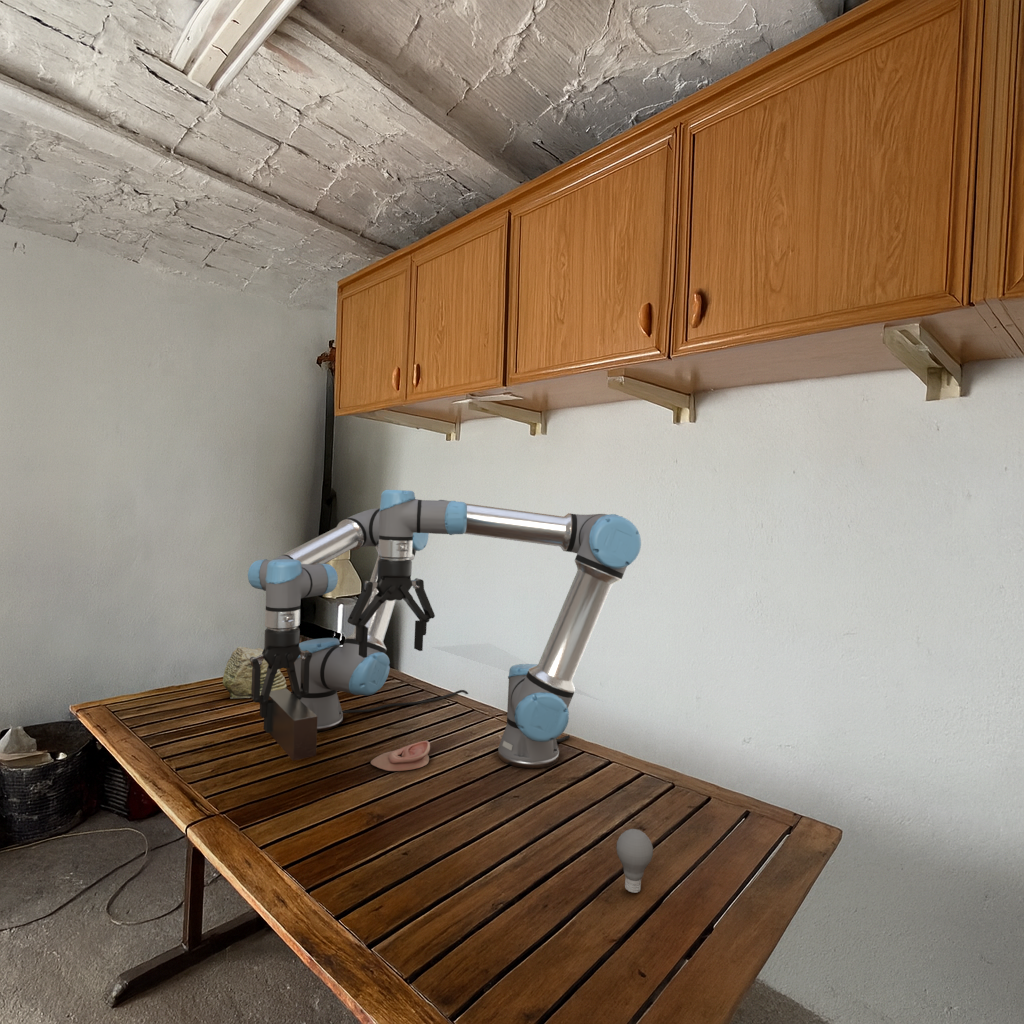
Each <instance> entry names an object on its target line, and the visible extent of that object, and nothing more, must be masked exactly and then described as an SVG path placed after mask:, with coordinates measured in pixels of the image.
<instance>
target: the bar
mask: <svg viewBox="0 0 1024 1024" xmlns="http://www.w3.org/2000/svg"><path fill="white" fill-rule="evenodd" d="M268 701H269V702H270V703H271V727H270V732H269V733H268V734H269V735H270V736H271V738H273V739H274V740H275V742H276V743H277V744H278V745H279V746H280V748H281V749H282V750H283V751H284V752H285V753H286V755H287V756H288V757H289V758H290V759H291V760H292V762H293V761H299V760H302V759H307V758H308V759H309V758H312V757H316V756H317V744H318V732H317V715H316V714H315V713H313V712H312V711H311V710H310V709H309V708H308V707H307V706H306V705H305V704H303V703H302V702H301V701H300V700H299V699H298V698H297V697H296V696H294V695H293V693H292V691H290V690H289V689H288V688H286V689H280V690H274V691H271V692H270V695H269V699H268Z"/></svg>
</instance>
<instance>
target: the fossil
mask: <svg viewBox="0 0 1024 1024" xmlns="http://www.w3.org/2000/svg"><path fill="white" fill-rule="evenodd" d="M263 650H264V648H260V647H258V648H251V647H247V646H246V647H245V646H238V647H237V648H236V649H235V650H233V651H232V653H231V656H230V657H229V659H228V660H227V663H226V666H225V668H224V671H223V675H222V676H223V677H222V685H223V687H224V688H225V690H226V691H228V693H229V698H230V699H250V698H251V690H252V665H251V662H250V658H251V657H257V656H259V655H261V654H262V652H263ZM267 667H268V663H267V662H266V661H265V659H263V661H262V665H261V666H260V668H261V677H260V695H261V691H262V688H263V684H264V681H265V677H266V674H267ZM287 687H288V686H287V680H286V678H285V676H284V674H283V673H282V672H281V669H278V670H277V673H276V675H275V678H274V681H273V685H272V688H271V691H274V690H280V689H287ZM251 699H252V698H251Z"/></svg>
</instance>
